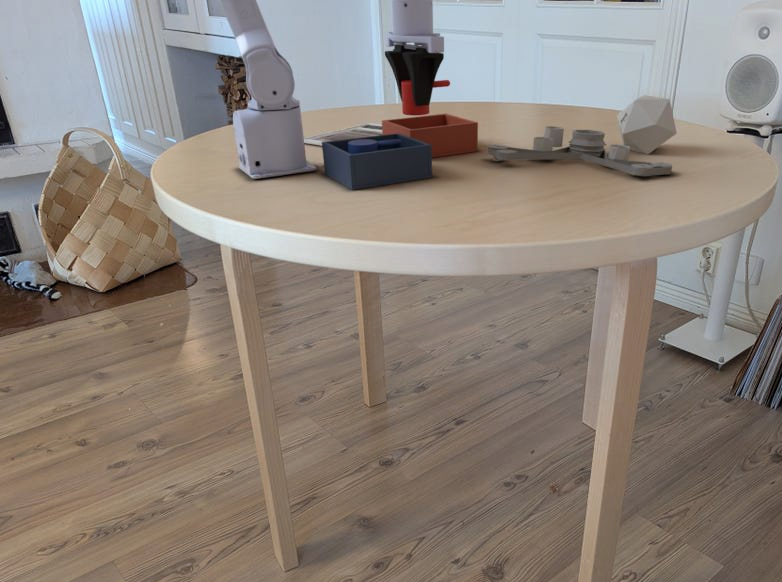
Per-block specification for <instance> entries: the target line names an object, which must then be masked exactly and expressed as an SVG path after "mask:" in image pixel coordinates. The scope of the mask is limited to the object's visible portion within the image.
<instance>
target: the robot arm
mask: <svg viewBox="0 0 782 582" xmlns="http://www.w3.org/2000/svg"><path fill="white" fill-rule="evenodd" d="M433 1H434V0H391V1H390V2H391V4H390V5H391V24H392V31H386V32H385V46H386V47H389V48H390V47H391V48H392V47H393V49H392V50H385V51H384V56H385V58H386V60H387V62H388V64H389V65H390V68H391V70H392V73H393V76H394V78H395V82H396V87H397V89H398V94H399V97H400V100H401V102H402V86H401V82H402V81H407V80H411V84H412V93H413V99H414V103H415V106H424V105H429V106H430V103H431V101H432V100H431V99H432V95H433V89H434V88H433V85H434V81H436V77H437V73H438V72H439V69H440V66H441V65H442V63H443V60H444V59H445V37H444V36H441V33H440V32H434V11H433V10H434V5H433V4H434V3H433ZM218 2H219V4H220V7H221V9H222V11H223V13H224V15H225V18H226V20H227V22H228V25H229V27H230V29H231V32H232V34H233V37H234V39H235V41H236V45H237V49H238V50H239V54H240V56H241V59H242V62H243V64H244V66H245V67H244V68H245V73H246V74H245V84H246V88H247V91H248V93H249V95H250V96H251V99H250V100H249V101H247V108H244V109H238V110H235V111H233V114H232V126H233V132H234V133H233V134H234V139H235V144H236V152H237V156H238V157H237V159H238V162H239V163H238V164H239V165H238V169H240V170H241V171H242V172H244V173H245V174H246V175H248V176H249V178H251V179H253V180H256V179H265V178H272V177H279V176H285V175H286V176H287V175H293V174H300V173H301V174H302V173H309V172H316V171H317V167H316V166H314V165H313V164H312V163H310V162H308V161H307V155H306V147H305V143H304V138H305V137H304V128H303V119H302V112H301V103H300V100H298V99H297V98H295V97H294V96H293V95H294V92H295V85H296V84H295V77H294V71H293V68H292V67H291V65H290V63H289V61H288V60H287V59H286V58H285V57H284V56H283V55H282V54H281V53H280V52H279V51H278V48H277V47H276V45H275V42H274V39H273V38H272V35H271V33H270V31H269V28H268V26H267V23H266V21H265V19H264V16H263V14H262V11H261V8H260V6H259V3H258V1H257V0H218Z"/></svg>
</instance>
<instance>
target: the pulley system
mask: <svg viewBox="0 0 782 582" xmlns="http://www.w3.org/2000/svg"><path fill="white" fill-rule="evenodd" d="M564 129H565V128H564V127H562V126H554V125H553V126H552V125H547V126H545V127H544V135H543V136H536V137H533V145H532V149H528V148H518V147H510V146H506V145H503V144H502V145H501V144H487V153H486V155H490V156H492V157H493V159H492V161H494V162H501V161H523V160H525V161H526V160H527V161H528V160H529V161H530V160H531V161H532V160H533V161H534V160H535V161H536V160H582V161H586V162H590V163H594V164H597V165H601V166H603V167H607V168H610V169H614V170H618V171H621V172H624V173H628V174H631V176H638V177H650V176H661V175H671V174H672V170H673V164H672V163H667V162H662V161H660V162H658V161H657V162H649V161H648V162H647V161H638V160H637V161H636V160H629V155H630V152H631V150H630V147H629V146H625V145H623V144H610V145H609V148H608V149H609V150H608V154H607V152H606V149H605V147H606V146H607V144H606V142H605V140H604V138H605V135H606V133H605V132H603V131H600V130H592V129H573V130H572V138H571V139H570V140H569V141H568V143H569V144H568V145H569V146H566V147H563V141H564V131H565V130H564ZM561 147H562V148H561ZM553 148H557V149H553ZM602 157H603V158H602Z"/></svg>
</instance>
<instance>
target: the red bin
mask: <svg viewBox="0 0 782 582" xmlns="http://www.w3.org/2000/svg"><path fill="white" fill-rule="evenodd" d="M381 125H382V132H383V135H386V134H394V133H395V134H396V133H400V134H403V135H405V136H408V137H411V138H414V139H416V140H419V141H422V142H425V143H427V144H430V145H431V147H432V158H439V157H446V156H453V155H459V154H468V153H474V152H478V150H479V149H478V144H479V140H478V139H479V138H478V137H479V122H477V121H475V120H470V119H467V118H463V117H460V116H456V115H453V114H450V113H439V114H438V113H437V114H427V115H418V116H411V117H410V116H409V117H402V118H400V117H399V118H392V119H384V120H383V119H382V120H381Z"/></svg>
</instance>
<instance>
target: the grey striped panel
mask: <svg viewBox="0 0 782 582" xmlns="http://www.w3.org/2000/svg"><path fill="white" fill-rule="evenodd" d="M378 135H383V132H382V123H373V122H366V123H363V124H362V123H361V124H359V125H354V126H350V127H345V128H341V129H337V130H332V131H329V132H328V131H327V132H323V133H319V134H315V135H310V136H307V137H304V144H307V145H315V146H321V147H322V142H327V141H336V140H344V139H352V138H361V137H369V136H378Z"/></svg>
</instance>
